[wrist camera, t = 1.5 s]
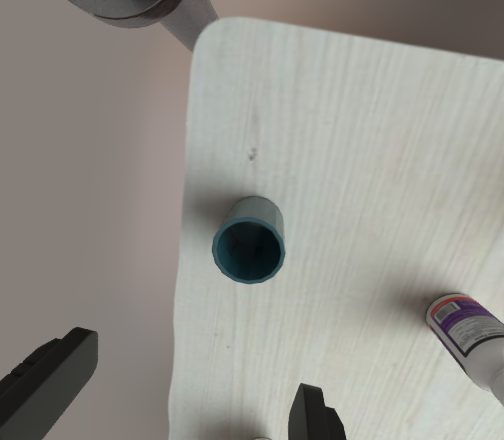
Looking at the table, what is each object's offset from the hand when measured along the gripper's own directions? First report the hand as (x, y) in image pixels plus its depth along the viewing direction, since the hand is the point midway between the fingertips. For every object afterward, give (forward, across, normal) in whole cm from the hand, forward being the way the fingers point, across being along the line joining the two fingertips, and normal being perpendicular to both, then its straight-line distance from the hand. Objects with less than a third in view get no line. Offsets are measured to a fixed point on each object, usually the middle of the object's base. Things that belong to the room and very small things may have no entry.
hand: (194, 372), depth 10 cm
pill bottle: (+19, -24, +5) cm, 31 cm away
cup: (+18, -1, 0) cm, 18 cm away
